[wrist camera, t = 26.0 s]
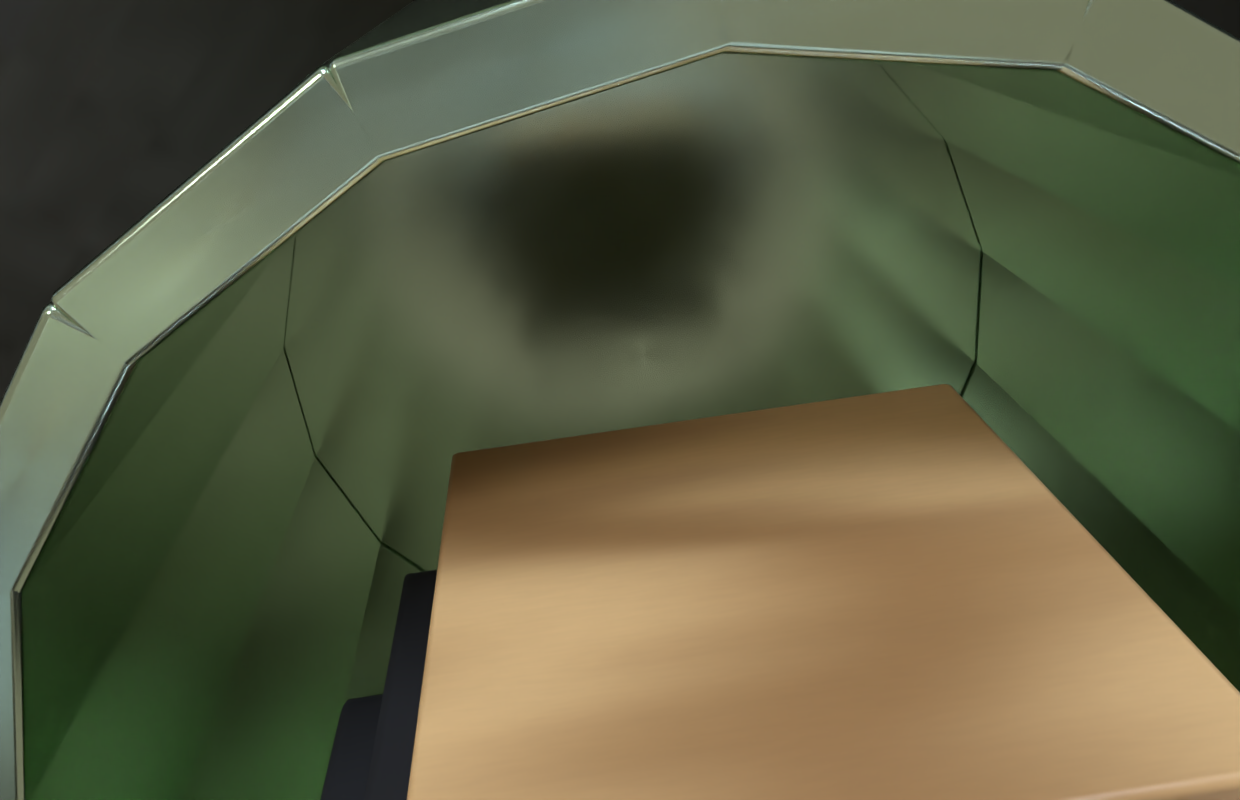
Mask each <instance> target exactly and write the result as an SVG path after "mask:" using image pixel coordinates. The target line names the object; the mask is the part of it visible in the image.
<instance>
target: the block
mask: <svg viewBox="0 0 1240 800" xmlns="http://www.w3.org/2000/svg"><path fill="white" fill-rule="evenodd" d="M407 800H1240V692H1239V691H1238V690H1237V689H1236V688H1235V687H1234V686H1233V685H1232V684H1231V683H1230V682H1229V681H1228V680H1227V678H1226V677H1225V676H1224V675H1223V674H1222V673H1221V672H1220V671H1219V670H1218V669H1217V668H1216V667H1215V666H1214V665H1213V664H1212V663H1211V661H1210V660H1209V659H1208V658H1207V657H1206V656H1205V655H1204V654H1203V653H1202V652H1201V651H1200V650H1199V649H1198V648H1197V647H1196V646H1195V644H1194V643H1193V642H1192V641H1191V640H1190V639H1189V638H1188V637H1187V636H1186V635H1185V634H1184V633H1183V632H1182V631H1181V630H1180V629H1179V627H1178V626H1177V625H1176V624H1175V623H1174V622H1173V621H1172V620H1171V619H1170V618H1169V617H1168V616H1167V615H1166V614H1165V613H1164V612H1163V610H1162V609H1161V608H1160V607H1159V606H1158V605H1157V604H1156V603H1155V602H1154V601H1153V600H1152V599H1151V598H1150V597H1149V596H1148V595H1147V593H1146V592H1145V591H1144V590H1143V589H1142V588H1141V587H1140V586H1139V585H1138V584H1137V583H1136V582H1135V581H1134V580H1133V579H1132V578H1131V576H1130V575H1129V574H1128V573H1127V572H1126V571H1125V570H1124V569H1123V568H1122V567H1121V566H1120V565H1119V564H1118V563H1117V562H1116V561H1115V559H1114V558H1113V557H1112V556H1111V555H1110V554H1109V553H1108V552H1107V551H1106V550H1105V549H1104V548H1103V547H1102V546H1101V545H1100V544H1099V542H1098V541H1097V540H1096V539H1095V538H1094V537H1093V536H1092V535H1091V534H1090V533H1089V532H1088V531H1087V530H1086V529H1085V528H1084V527H1083V525H1082V524H1081V523H1080V522H1079V521H1078V520H1077V519H1076V518H1075V517H1074V516H1073V515H1072V514H1071V513H1070V512H1069V511H1068V510H1067V508H1066V507H1065V506H1064V505H1063V504H1062V503H1061V502H1060V501H1059V500H1058V499H1057V498H1056V497H1055V496H1054V495H1053V494H1052V493H1051V491H1050V490H1049V489H1048V488H1047V487H1046V486H1045V485H1044V484H1043V483H1042V482H1041V481H1040V480H1039V479H1038V478H1037V477H1036V476H1035V474H1034V473H1033V472H1032V471H1031V470H1030V469H1029V468H1028V467H1027V466H1026V465H1025V464H1024V463H1023V462H1022V461H1021V460H1020V459H1019V457H1018V456H1017V455H1016V454H1015V453H1014V452H1013V451H1012V450H1011V449H1010V448H1009V447H1008V446H1007V445H1006V444H1005V443H1004V442H1003V440H1002V439H1001V438H1000V437H999V436H998V435H997V434H996V433H995V432H994V431H993V430H992V429H991V428H990V427H989V426H988V425H987V423H986V422H985V421H984V420H983V419H982V418H981V417H980V416H979V415H978V414H977V413H976V412H975V411H974V410H973V409H972V408H971V406H970V405H969V404H968V403H967V402H966V401H965V400H964V399H963V398H962V397H961V396H960V395H959V394H958V393H957V392H956V391H955V389H954V388H953V387H952V386H951V385H948V384H939V385H932V386H925V387H918V388H911V389H904V390H897V391H890V392H883V393H876V394H869V395H861V396H854V397H847V398H840V399H833V400H826V401H819V402H812V403H805V404H798V405H791V406H784V407H777V408H770V409H763V410H756V411H749V412H742V413H734V414H727V415H720V416H713V417H706V418H699V419H692V420H685V421H678V422H671V423H664V424H657V425H650V426H643V427H636V428H629V429H622V430H615V431H607V432H600V433H593V434H586V435H579V436H572V437H565V438H558V439H551V440H544V441H537V442H530V443H523V444H516V445H509V446H502V447H495V448H487V449H480V450H473V451H466V452H459V453H456V454H454V455H453V457H452V462H451V470H450V477H449V485H448V492H447V500H446V507H445V515H444V522H443V530H442V537H441V545H440V552H439V560H438V567H437V575H436V582H435V590H434V597H433V605H432V612H431V620H430V627H429V635H428V642H427V650H426V657H425V665H424V672H423V680H422V687H421V695H420V702H419V710H418V717H417V725H416V732H415V740H414V747H413V755H412V762H411V770H410V777H409V785H408V793H407Z"/></svg>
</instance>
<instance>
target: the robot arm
mask: <svg viewBox="0 0 1240 800" xmlns="http://www.w3.org/2000/svg"><path fill="white" fill-rule="evenodd" d="M436 575H437V570H431V571H424V572H417V573H410V574H407V575H406V576H405V578H404V582H403V588H402V593H401V599H400V604H399V609H398V615H397V620H396V626H395V631H394V637H393V642H392V648H391V653H390V659H389V664H388V670H387V675H386V681H385V686H384V692H383V694H380V695H373V696H367V697H360V698H353V699H348V700H347V701H346V702H345V704H344V705H343V708H342V711H341V714H340V717H339V722H338V726H337V730H336V735H335V739H334V743H333V748H332V752H331V756H330V760H329V765H328V769H327V773H326V778H325V782H324V786H323V791H322V795H321V799H320V800H407V793H408V785H409V777H410V770H411V762H412V755H413V747H414V740H415V732H416V725H417V717H418V710H419V702H420V695H421V687H422V680H423V672H424V665H425V657H426V650H427V642H428V635H429V627H430V620H431V612H432V605H433V597H434V590H435V582H436Z"/></svg>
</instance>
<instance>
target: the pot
mask: <svg viewBox="0 0 1240 800" xmlns="http://www.w3.org/2000/svg"><path fill="white" fill-rule="evenodd" d="M939 384H948V385H951V386H952V387H953V388H954V389H955V391H956V392H957V393H958V394H959V395H960V396H961V397H962V398H963V399H964V400H965V401H966V402H967V403H968V404H969V405H970V406H971V408H972V409H973V410H974V411H975V412H976V413H977V414H978V415H979V416H980V417H981V418H982V419H983V420H984V421H985V422H986V423H987V425H988V426H989V427H990V428H991V429H992V430H993V431H994V432H995V433H996V434H997V435H998V436H999V437H1000V438H1001V439H1002V440H1003V442H1004V443H1005V444H1006V445H1007V446H1008V447H1009V448H1010V449H1011V450H1012V451H1013V452H1014V453H1015V454H1016V455H1017V456H1018V457H1019V459H1020V460H1021V461H1022V462H1023V463H1024V464H1025V465H1026V466H1027V467H1028V468H1029V469H1030V470H1031V471H1032V472H1033V473H1034V474H1035V476H1036V477H1037V478H1038V479H1039V480H1040V481H1041V482H1042V483H1043V484H1044V485H1045V486H1046V487H1047V488H1048V489H1049V490H1050V491H1051V493H1052V494H1053V495H1054V496H1055V497H1056V498H1057V499H1058V500H1059V501H1060V502H1061V503H1062V504H1063V505H1064V506H1065V507H1066V508H1067V510H1068V511H1069V512H1070V513H1071V514H1072V515H1073V516H1074V517H1075V518H1076V519H1077V520H1078V521H1079V522H1080V523H1081V524H1082V525H1083V527H1084V528H1085V529H1086V530H1087V531H1088V532H1089V533H1090V534H1091V535H1092V536H1093V537H1094V538H1095V539H1096V540H1097V541H1098V542H1099V544H1100V545H1101V546H1102V547H1103V548H1104V549H1105V550H1106V551H1107V552H1108V553H1109V554H1110V555H1111V556H1112V557H1113V558H1114V559H1115V561H1116V562H1117V563H1118V564H1119V565H1120V566H1121V567H1122V568H1123V569H1124V570H1125V571H1126V572H1127V573H1128V574H1129V575H1130V576H1131V578H1132V579H1133V580H1134V581H1135V582H1136V583H1137V584H1138V585H1139V586H1140V587H1141V588H1142V589H1143V590H1144V591H1145V592H1146V593H1147V595H1148V596H1149V597H1150V598H1151V599H1152V600H1153V601H1154V602H1155V603H1156V604H1157V605H1158V606H1159V607H1160V608H1161V609H1162V610H1163V612H1164V613H1165V614H1166V615H1167V616H1168V617H1169V618H1170V619H1171V620H1172V621H1173V622H1174V623H1175V624H1176V625H1177V626H1178V627H1179V629H1180V630H1181V631H1182V632H1183V633H1184V634H1185V635H1186V636H1187V637H1188V638H1189V639H1190V640H1191V641H1192V642H1193V643H1194V644H1195V646H1196V647H1197V648H1198V649H1199V650H1200V651H1201V652H1202V653H1203V654H1204V655H1205V656H1206V657H1207V658H1208V659H1209V660H1210V661H1211V663H1212V664H1213V665H1214V666H1215V667H1216V668H1217V669H1218V670H1219V671H1220V672H1221V673H1222V674H1223V675H1224V676H1225V677H1226V678H1227V680H1228V681H1229V682H1230V683H1231V684H1232V685H1233V686H1234V687H1235V688H1236V689H1237V690H1238V691H1239V692H1240V39H1239V38H1237V37H1235V36H1234V35H1232V34H1230V33H1228V32H1226V31H1225V30H1223V29H1221V28H1219V27H1217V26H1216V25H1214V24H1212V23H1210V22H1208V21H1207V20H1205V19H1203V18H1201V17H1199V16H1198V15H1196V14H1194V13H1192V12H1190V11H1188V10H1187V9H1185V8H1183V7H1181V6H1179V5H1178V4H1176V3H1174V2H1172V1H1170V0H415V1H413V2H412V3H410V4H409V5H408V6H406V7H405V8H403V9H402V10H400V11H399V12H397V13H396V14H394V15H393V16H392V17H390V18H389V19H387V20H386V21H384V22H383V23H381V24H380V25H379V26H377V27H376V28H374V29H373V30H371V31H370V32H368V33H367V34H366V35H364V36H363V37H361V38H360V39H358V40H357V41H355V42H354V43H352V44H351V45H350V46H348V47H347V48H345V49H344V50H342V51H341V52H339V53H338V54H337V55H335V56H334V57H332V58H331V59H329V60H328V61H326V62H325V63H324V64H322V65H321V66H319V67H318V68H316V69H315V70H314V71H313V72H312V73H310V74H309V75H308V76H307V77H306V78H305V79H303V80H302V81H301V82H300V83H299V84H298V85H296V86H295V87H294V88H293V89H292V90H291V91H289V92H288V93H287V94H286V95H285V96H283V97H282V98H281V99H280V100H279V101H278V102H276V103H275V104H274V105H273V106H272V107H271V108H269V109H268V110H267V111H266V112H265V113H264V114H262V115H261V116H260V117H259V118H258V119H257V120H255V121H254V122H253V123H252V124H251V125H249V126H248V127H247V128H246V129H245V130H244V131H242V132H241V133H240V134H239V135H238V136H237V137H235V138H234V139H233V140H232V141H231V142H230V143H228V144H227V145H226V146H225V147H224V148H222V149H221V150H220V151H219V152H218V153H217V154H215V155H214V156H213V157H212V158H211V159H210V160H208V161H207V162H206V163H205V164H204V165H203V166H201V167H200V168H199V169H198V170H197V171H196V172H194V173H193V174H192V175H191V176H190V177H188V178H187V179H186V180H185V181H184V182H183V183H181V184H180V185H179V186H178V187H177V188H176V189H174V190H173V191H172V192H171V193H170V194H169V195H167V196H166V197H165V198H164V199H163V200H161V201H160V202H159V203H158V204H157V205H156V206H154V207H153V208H152V209H151V210H150V211H149V212H147V213H146V214H145V215H144V216H143V217H142V218H140V219H139V220H138V221H137V222H136V223H134V224H133V225H132V226H131V227H130V228H129V229H127V230H126V231H125V232H124V233H123V234H122V235H120V236H119V237H118V238H117V239H116V240H115V241H113V242H112V243H111V244H110V245H109V246H108V247H106V248H105V249H104V250H103V251H102V252H100V253H99V254H98V255H97V256H96V257H95V258H93V259H92V260H91V261H90V262H89V263H88V264H86V265H85V266H84V267H83V268H82V269H81V270H79V271H78V272H77V273H76V274H75V275H73V276H72V277H71V278H70V279H69V280H68V281H66V282H65V283H64V284H63V285H62V286H61V287H59V288H58V289H57V290H56V291H55V292H54V293H53V296H52V298H51V302H50V303H49V304H47V305H46V306H45V307H44V308H43V309H42V311H41V313H40V316H39V318H38V320H37V322H36V325H35V327H34V329H33V331H32V333H31V336H30V338H29V340H28V342H27V344H26V347H25V349H24V351H23V353H22V356H21V358H20V360H19V362H18V364H17V367H16V369H15V371H14V373H13V375H12V378H11V380H10V382H9V384H8V387H7V389H6V391H5V393H4V395H3V398H2V400H1V402H0V800H320V799H321V795H322V791H323V786H324V782H325V778H326V773H327V769H328V765H329V760H330V756H331V752H332V748H333V743H334V739H335V735H336V730H337V726H338V722H339V717H340V714H341V711H342V708H343V705H344V704H345V702H346V701H347V700H348V699H353V698H360V697H367V696H373V695H380V694H383V692H384V686H385V681H386V675H387V670H388V664H389V659H390V653H391V648H392V642H393V637H394V631H395V626H396V620H397V615H398V609H399V604H400V599H401V593H402V588H403V582H404V578H405V576H406V575H407V574H410V573H417V572H424V571H431V570H437V567H438V560H439V552H440V545H441V537H442V530H443V522H444V515H445V507H446V500H447V492H448V485H449V477H450V470H451V462H452V457H453V455H454V454H456V453H459V452H466V451H473V450H480V449H487V448H495V447H502V446H509V445H516V444H523V443H530V442H537V441H544V440H551V439H558V438H565V437H572V436H579V435H586V434H593V433H600V432H607V431H615V430H622V429H629V428H636V427H643V426H650V425H657V424H664V423H671V422H678V421H685V420H692V419H699V418H706V417H713V416H720V415H727V414H734V413H742V412H749V411H756V410H763V409H770V408H777V407H784V406H791V405H798V404H805V403H812V402H819V401H826V400H833V399H840V398H847V397H854V396H861V395H869V394H876V393H883V392H890V391H897V390H904V389H911V388H918V387H925V386H932V385H939Z"/></svg>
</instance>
